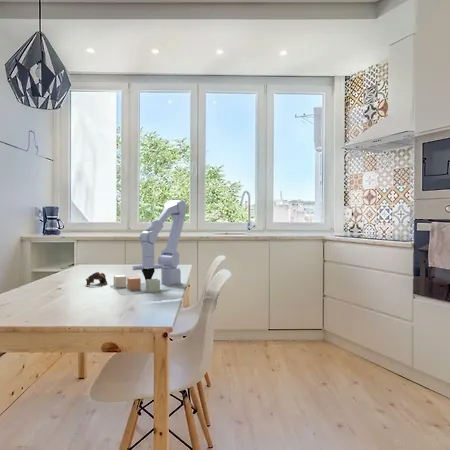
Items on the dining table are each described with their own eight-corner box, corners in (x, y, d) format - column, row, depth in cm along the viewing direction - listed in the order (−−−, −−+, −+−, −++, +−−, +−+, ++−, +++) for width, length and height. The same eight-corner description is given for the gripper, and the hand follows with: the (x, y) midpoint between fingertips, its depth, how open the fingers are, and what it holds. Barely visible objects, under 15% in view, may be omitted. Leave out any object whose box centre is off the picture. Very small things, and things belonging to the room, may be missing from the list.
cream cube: (124, 285, 186) (124, 274, 186) (126, 286, 182) (126, 276, 181) (113, 285, 184) (113, 275, 184) (115, 287, 179) (115, 277, 179)
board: (147, 284, 193) (147, 282, 193) (164, 293, 170) (164, 291, 170) (109, 287, 184) (109, 285, 184) (121, 297, 161) (121, 295, 161)
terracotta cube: (137, 287, 180) (137, 276, 180) (140, 289, 176) (140, 278, 176) (127, 288, 178) (127, 277, 178) (129, 289, 173) (129, 279, 173)
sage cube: (156, 289, 175) (156, 278, 175) (159, 291, 171) (160, 280, 171) (146, 290, 173) (146, 279, 173) (149, 292, 168) (149, 281, 168)
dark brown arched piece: (105, 289, 183) (96, 275, 181) (89, 297, 185) (80, 283, 183) (113, 279, 195) (105, 265, 193) (98, 286, 196) (90, 273, 194)
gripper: (135, 257, 173) (135, 287, 173) (165, 256, 179) (165, 284, 180) (131, 256, 179) (131, 284, 179) (160, 254, 186) (160, 282, 186)
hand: (148, 284), depth 180 cm, fingers closed
